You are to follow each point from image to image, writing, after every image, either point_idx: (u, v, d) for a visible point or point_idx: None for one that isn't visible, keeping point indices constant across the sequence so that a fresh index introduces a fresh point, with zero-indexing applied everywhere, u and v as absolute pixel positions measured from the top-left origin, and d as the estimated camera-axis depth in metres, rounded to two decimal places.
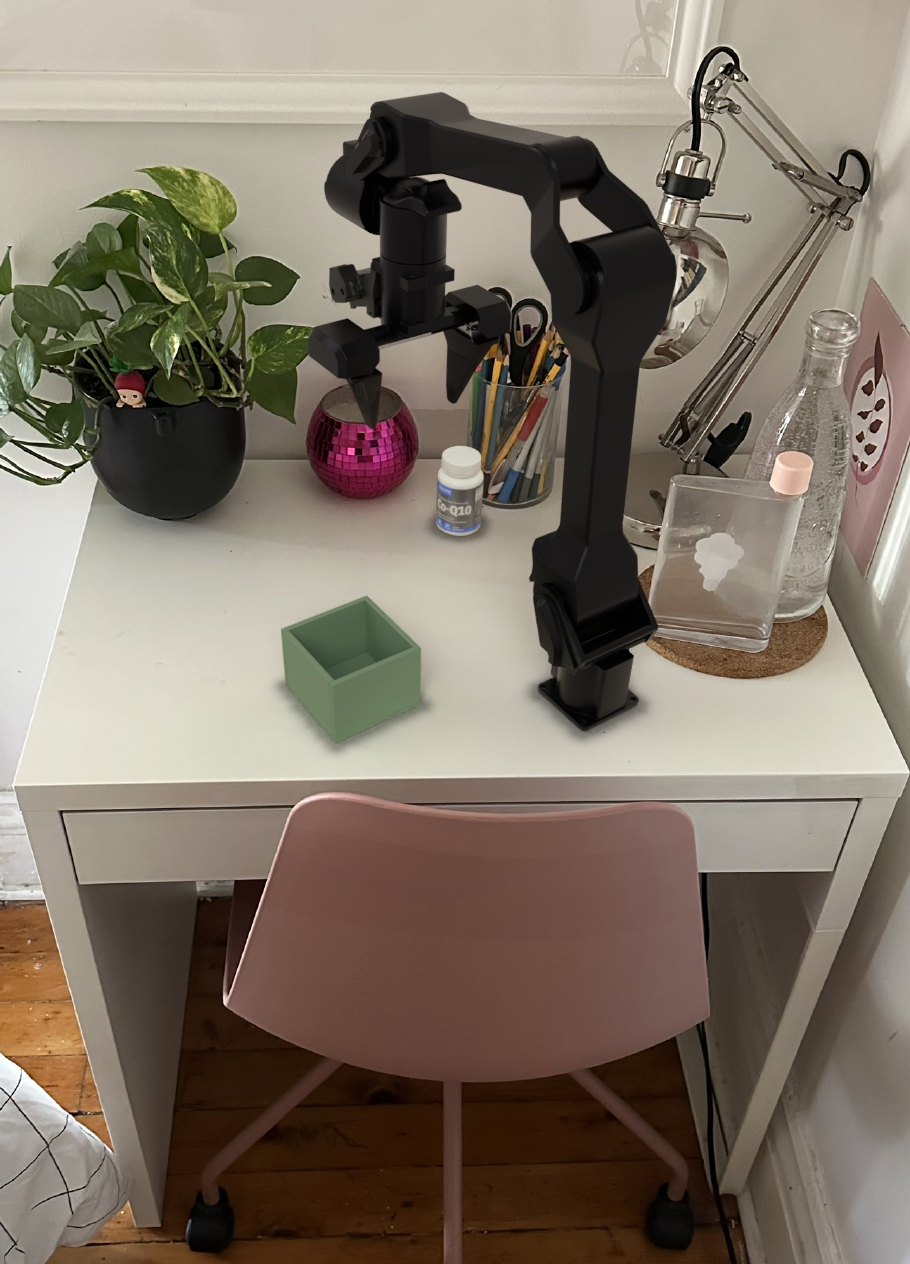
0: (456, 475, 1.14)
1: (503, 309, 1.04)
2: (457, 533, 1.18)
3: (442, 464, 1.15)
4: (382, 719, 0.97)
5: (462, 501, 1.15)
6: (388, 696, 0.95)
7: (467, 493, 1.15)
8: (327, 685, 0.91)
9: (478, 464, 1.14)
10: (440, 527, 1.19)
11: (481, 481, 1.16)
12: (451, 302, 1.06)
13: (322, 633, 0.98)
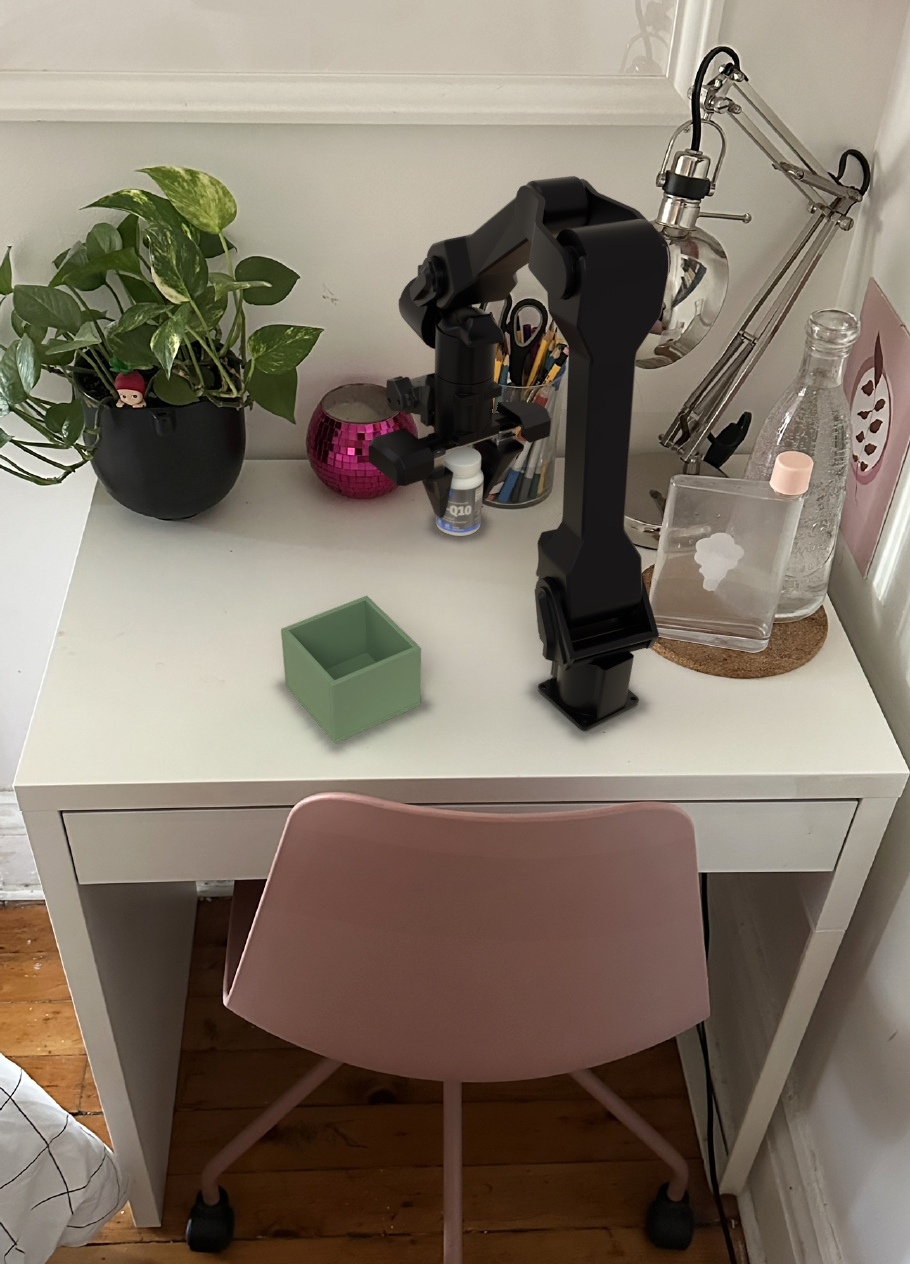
0: (456, 475, 1.14)
1: (544, 416, 1.15)
2: (457, 533, 1.18)
3: None
4: (382, 719, 0.97)
5: (462, 501, 1.15)
6: (388, 696, 0.95)
7: (467, 493, 1.15)
8: (327, 685, 0.91)
9: (478, 464, 1.14)
10: (440, 527, 1.19)
11: (481, 481, 1.16)
12: None
13: (322, 633, 0.98)
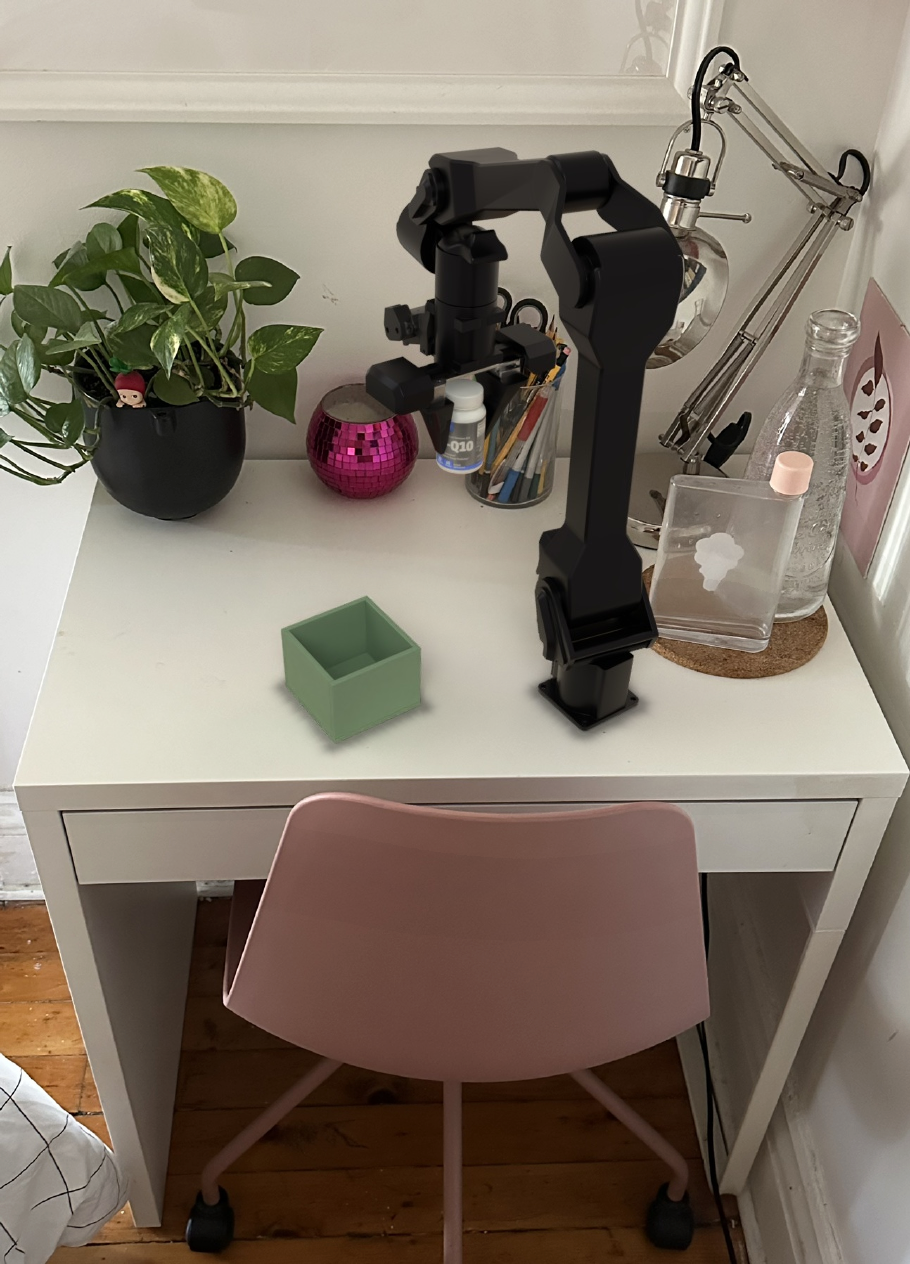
0: (457, 407, 1.09)
1: (549, 346, 1.10)
2: (458, 471, 1.13)
3: None
4: (382, 719, 0.97)
5: (463, 436, 1.10)
6: (388, 696, 0.95)
7: (468, 427, 1.10)
8: (327, 685, 0.91)
9: (480, 396, 1.09)
10: (440, 465, 1.13)
11: (483, 415, 1.10)
12: (499, 339, 1.11)
13: (322, 633, 0.98)
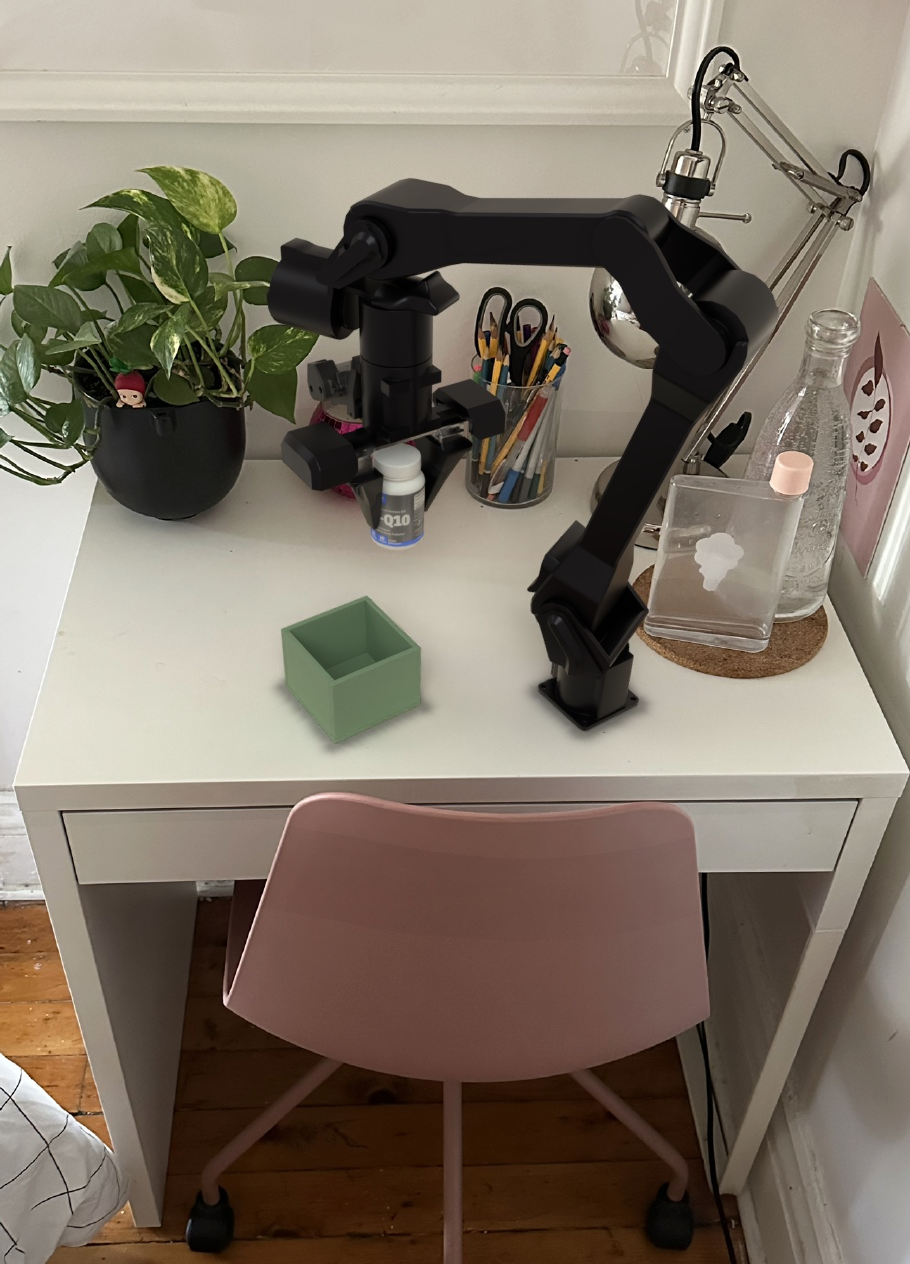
0: (389, 477, 0.95)
1: (497, 408, 0.95)
2: (394, 547, 0.99)
3: (374, 465, 0.96)
4: (382, 719, 0.97)
5: (398, 509, 0.96)
6: (388, 696, 0.95)
7: (403, 499, 0.96)
8: (327, 685, 0.91)
9: (416, 465, 0.95)
10: (374, 540, 0.99)
11: (421, 485, 0.96)
12: (441, 399, 0.97)
13: (322, 633, 0.98)
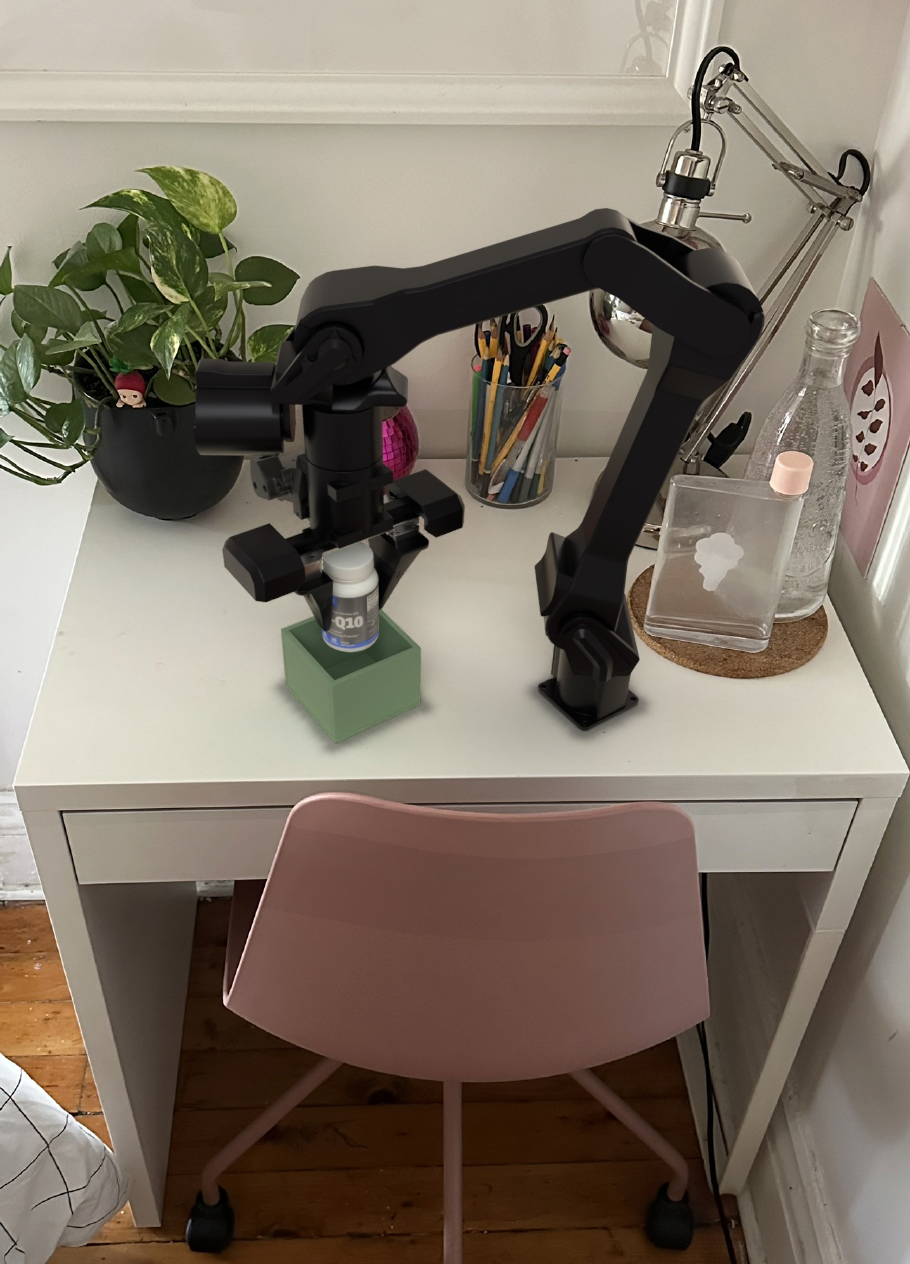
0: (340, 579, 0.89)
1: (454, 504, 0.90)
2: (347, 649, 0.93)
3: (323, 565, 0.90)
4: (382, 719, 0.97)
5: (350, 611, 0.90)
6: (388, 696, 0.95)
7: (355, 602, 0.90)
8: (327, 685, 0.91)
9: (369, 565, 0.89)
10: (326, 641, 0.94)
11: (374, 586, 0.91)
12: (394, 492, 0.91)
13: None
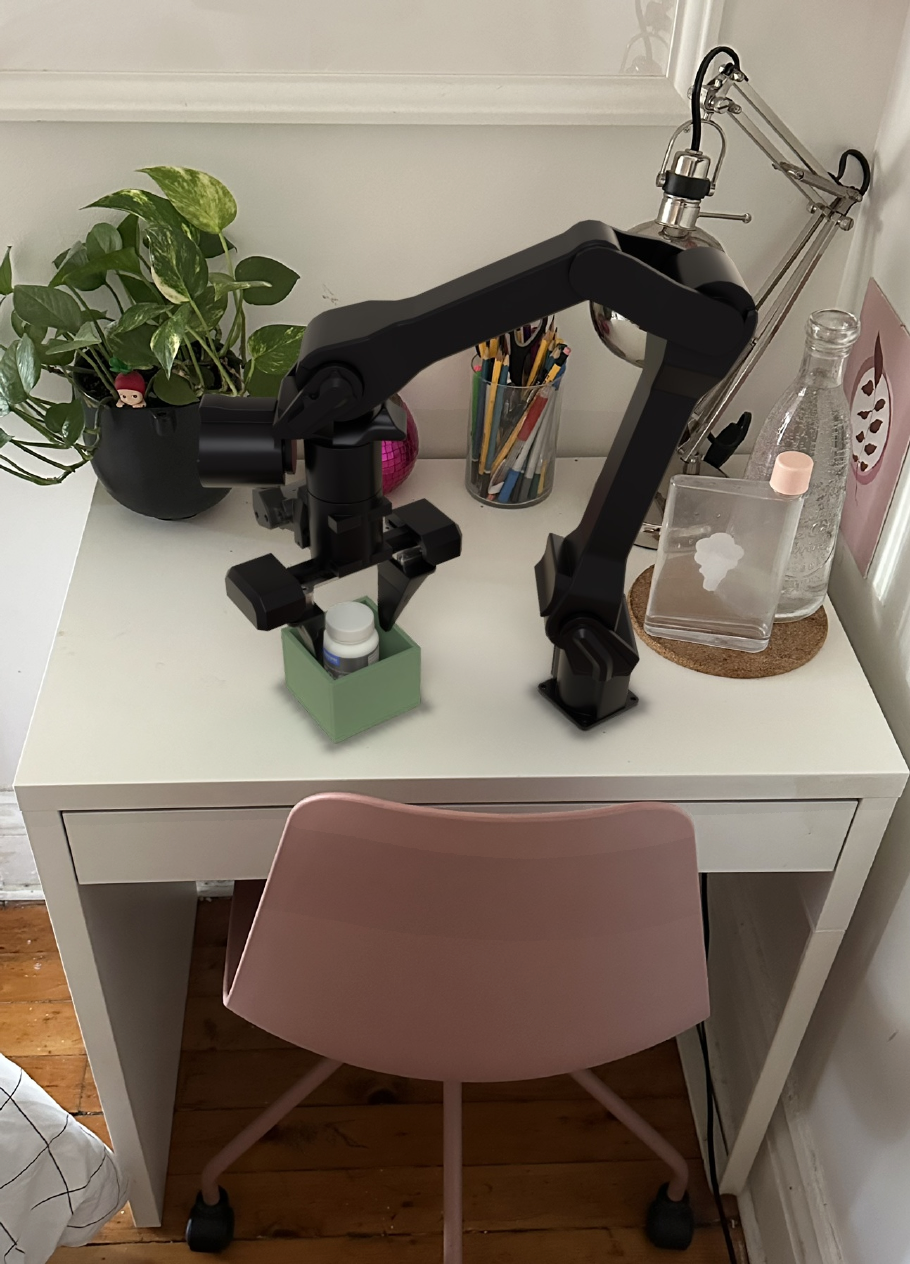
0: (342, 641, 0.93)
1: (452, 533, 0.91)
2: None
3: (326, 627, 0.94)
4: (382, 719, 0.97)
5: (352, 670, 0.94)
6: (388, 696, 0.95)
7: (357, 661, 0.94)
8: (327, 685, 0.91)
9: (369, 627, 0.93)
10: None
11: (375, 646, 0.94)
12: (393, 521, 0.93)
13: None
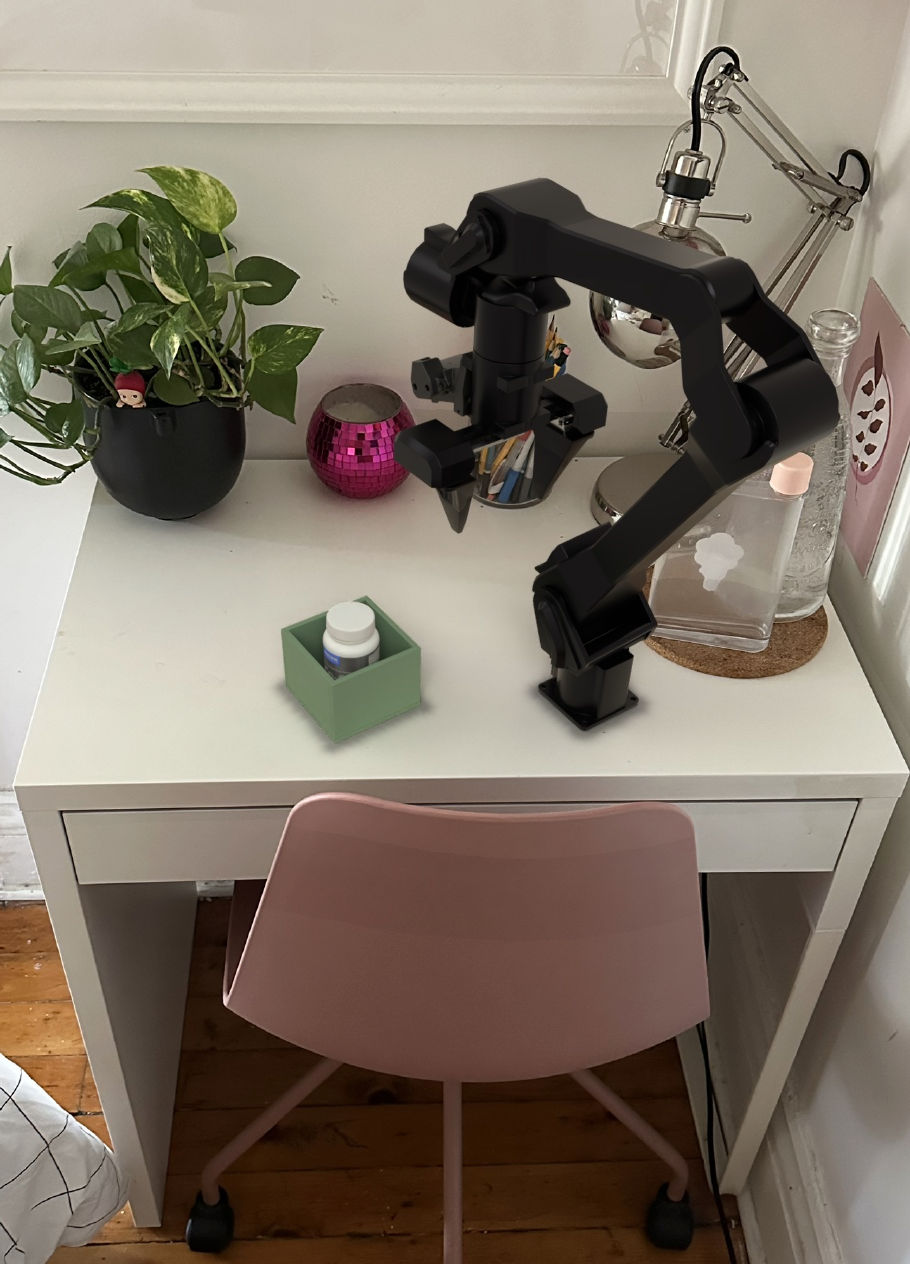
0: (343, 641, 0.93)
1: (599, 402, 0.96)
2: None
3: (327, 626, 0.94)
4: (382, 719, 0.97)
5: (352, 670, 0.94)
6: (388, 696, 0.95)
7: (357, 661, 0.94)
8: (327, 685, 0.91)
9: (370, 627, 0.93)
10: None
11: (375, 646, 0.94)
12: (541, 394, 0.98)
13: (322, 633, 0.98)
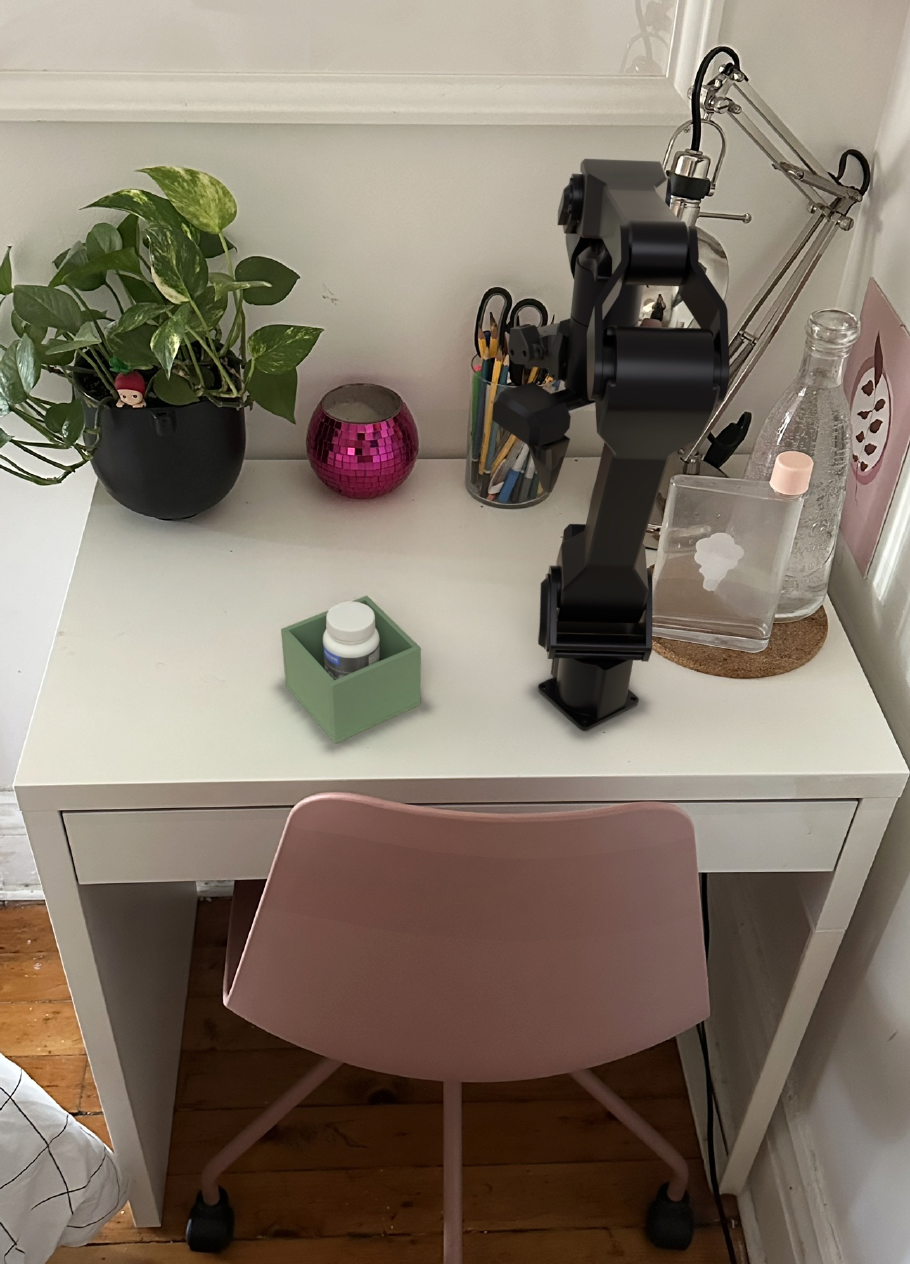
0: (343, 641, 0.93)
1: None
2: None
3: (327, 626, 0.94)
4: (382, 719, 0.97)
5: (352, 670, 0.94)
6: (388, 696, 0.95)
7: (357, 661, 0.94)
8: (327, 685, 0.91)
9: (370, 627, 0.93)
10: None
11: (375, 645, 0.94)
12: None
13: (322, 633, 0.98)
